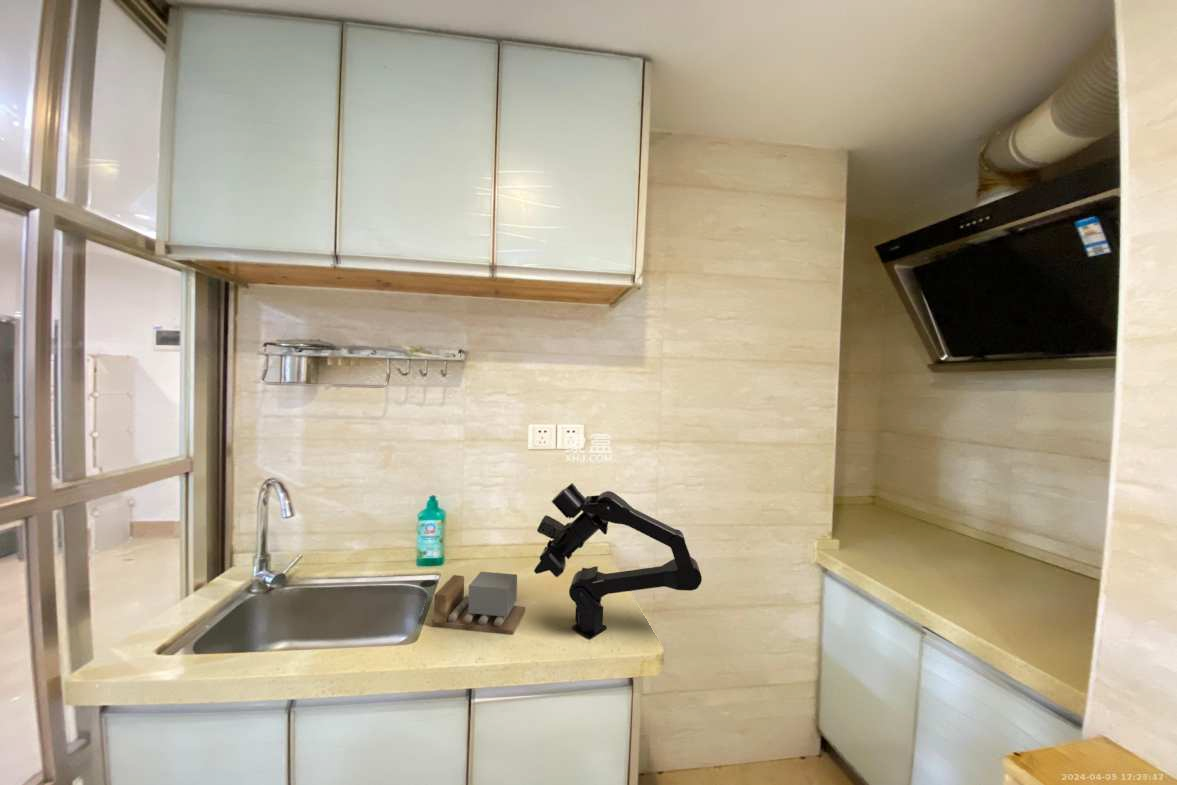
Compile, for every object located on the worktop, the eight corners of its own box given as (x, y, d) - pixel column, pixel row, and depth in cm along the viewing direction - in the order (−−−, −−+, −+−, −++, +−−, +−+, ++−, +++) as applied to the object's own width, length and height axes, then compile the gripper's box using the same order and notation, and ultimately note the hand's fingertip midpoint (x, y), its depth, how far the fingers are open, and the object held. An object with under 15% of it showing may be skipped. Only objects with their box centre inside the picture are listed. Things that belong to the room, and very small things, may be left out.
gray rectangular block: (516, 600, 117) (517, 574, 116) (507, 616, 109) (507, 588, 108) (480, 597, 118) (480, 571, 118) (468, 613, 110) (468, 585, 110)
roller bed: (525, 611, 118) (525, 581, 118) (512, 634, 107) (513, 601, 107) (450, 604, 121) (451, 574, 120) (431, 626, 110) (431, 594, 110)
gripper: (564, 497, 120) (524, 534, 121) (549, 518, 101) (502, 562, 103) (592, 527, 119) (551, 565, 121) (582, 555, 100) (534, 598, 102)
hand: (535, 571), depth 112 cm, fingers closed
